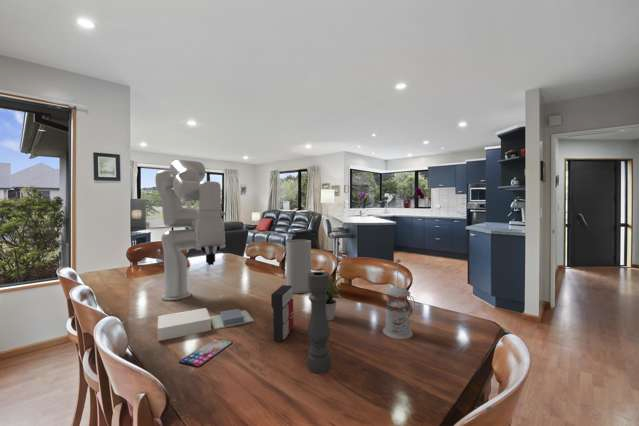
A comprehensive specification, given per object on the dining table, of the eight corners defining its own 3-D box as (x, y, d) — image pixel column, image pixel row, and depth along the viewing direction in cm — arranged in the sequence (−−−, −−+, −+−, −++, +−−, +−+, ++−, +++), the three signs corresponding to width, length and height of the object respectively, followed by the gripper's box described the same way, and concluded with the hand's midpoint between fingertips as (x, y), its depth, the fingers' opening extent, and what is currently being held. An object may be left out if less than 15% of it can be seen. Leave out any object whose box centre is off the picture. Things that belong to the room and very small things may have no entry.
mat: (209, 317, 109) (209, 316, 109) (245, 310, 116) (245, 310, 116) (213, 329, 99) (213, 328, 99) (253, 321, 106) (253, 320, 106)
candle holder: (307, 361, 79) (306, 271, 78) (329, 360, 79) (328, 270, 78) (308, 374, 72) (307, 277, 72) (332, 373, 73) (331, 276, 72)
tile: (238, 308, 112) (238, 313, 112) (220, 311, 109) (220, 316, 109) (243, 316, 104) (243, 322, 104) (223, 320, 101) (223, 325, 101)
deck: (158, 327, 101) (158, 316, 101) (206, 318, 109) (206, 307, 109) (157, 341, 91) (157, 328, 91) (210, 330, 98) (210, 318, 98)
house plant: (354, 313, 112) (354, 272, 112) (342, 327, 100) (341, 281, 99) (321, 308, 118) (321, 269, 118) (306, 321, 106) (305, 277, 105)
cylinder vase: (310, 293, 138) (310, 242, 137) (285, 294, 138) (284, 242, 137) (311, 286, 150) (311, 239, 150) (288, 286, 151) (287, 239, 150)
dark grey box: (284, 342, 90) (284, 295, 89) (271, 340, 91) (271, 294, 90) (294, 327, 100) (294, 285, 100) (282, 326, 101) (282, 284, 101)
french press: (376, 328, 99) (376, 257, 98) (403, 323, 103) (403, 254, 103) (395, 341, 90) (395, 262, 89) (423, 334, 94) (423, 259, 94)
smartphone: (234, 341, 90) (199, 367, 76) (234, 343, 90) (199, 369, 76) (214, 337, 92) (177, 361, 78) (214, 339, 92) (177, 364, 78)
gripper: (228, 214, 112) (229, 260, 113) (187, 215, 104) (187, 264, 105) (233, 215, 105) (233, 264, 106) (188, 216, 98) (189, 268, 99)
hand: (210, 264), depth 106 cm, fingers closed
